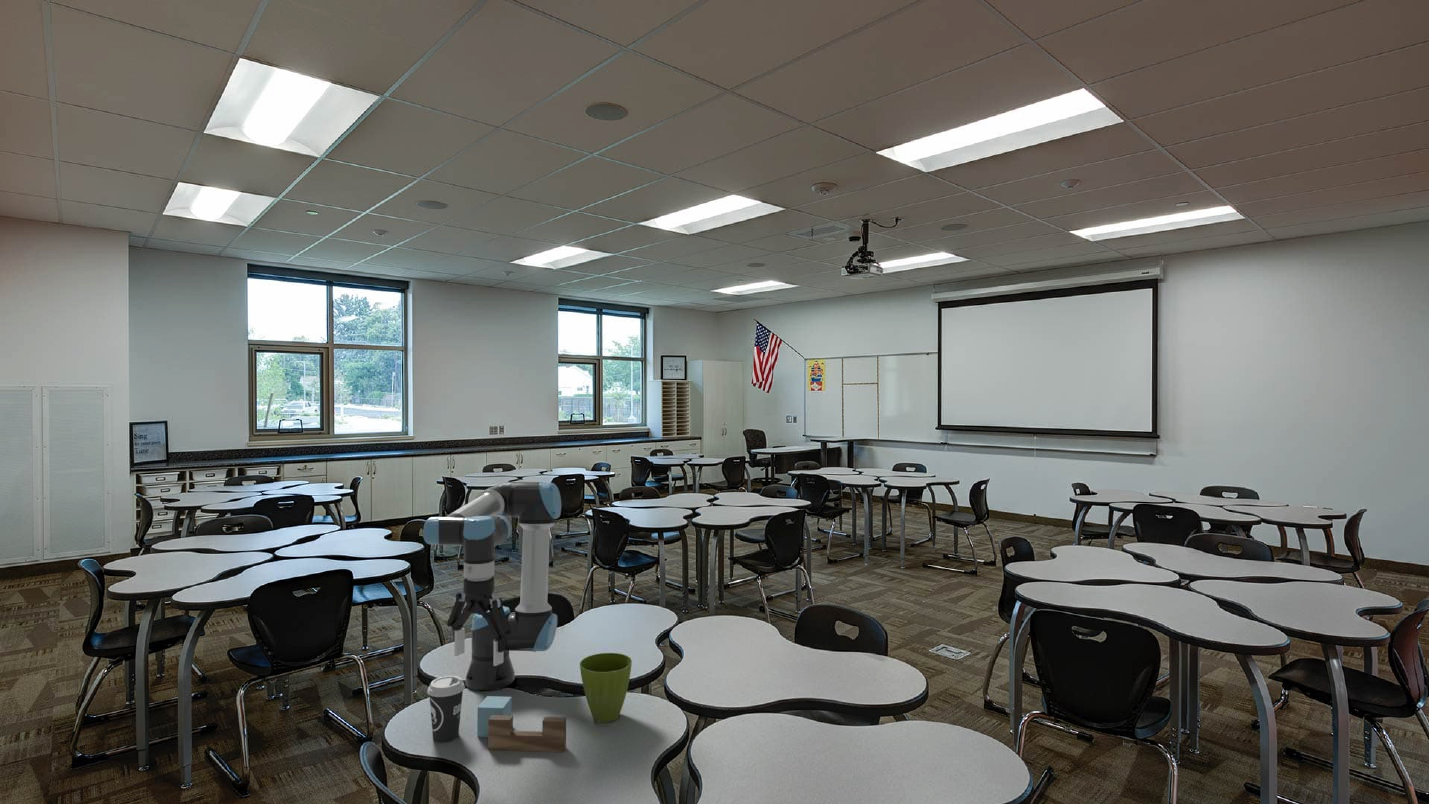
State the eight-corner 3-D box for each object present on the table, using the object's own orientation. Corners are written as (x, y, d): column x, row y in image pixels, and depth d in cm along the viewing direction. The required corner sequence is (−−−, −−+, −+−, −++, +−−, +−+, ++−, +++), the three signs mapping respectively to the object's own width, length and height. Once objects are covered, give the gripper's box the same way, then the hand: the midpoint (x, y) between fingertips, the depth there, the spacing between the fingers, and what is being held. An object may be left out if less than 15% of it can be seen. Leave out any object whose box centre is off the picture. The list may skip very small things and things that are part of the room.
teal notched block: (486, 724, 193) (487, 696, 193) (511, 725, 193) (511, 696, 193) (477, 736, 186) (477, 707, 186) (502, 737, 186) (502, 708, 186)
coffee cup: (451, 747, 180) (452, 690, 180) (419, 743, 182) (419, 687, 182) (471, 730, 190) (471, 676, 190) (440, 726, 192) (440, 673, 192)
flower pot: (569, 723, 194) (569, 667, 194) (596, 701, 208) (597, 649, 208) (614, 733, 189) (615, 675, 189) (640, 710, 203) (640, 657, 203)
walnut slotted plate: (491, 745, 182) (491, 715, 182) (566, 747, 181) (566, 717, 181) (488, 749, 179) (488, 719, 179) (563, 752, 179) (564, 721, 179)
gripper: (432, 574, 179) (432, 655, 179) (505, 587, 167) (504, 673, 168) (455, 567, 185) (455, 645, 186) (526, 580, 174) (525, 663, 174)
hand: (478, 659), depth 177 cm, fingers open, 13 cm apart
